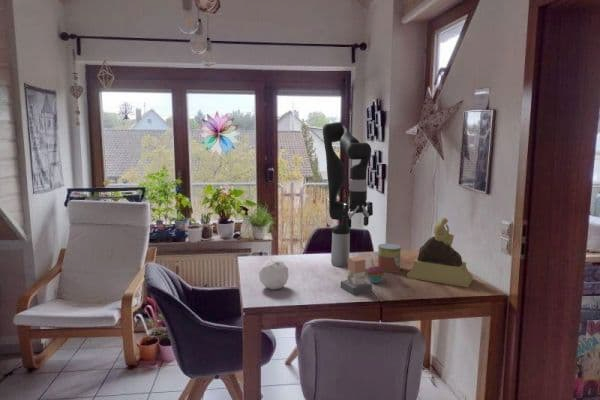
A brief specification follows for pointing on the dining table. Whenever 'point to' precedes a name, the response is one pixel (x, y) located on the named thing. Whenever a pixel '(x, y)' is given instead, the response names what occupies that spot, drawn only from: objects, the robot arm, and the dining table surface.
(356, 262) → the terracotta cube
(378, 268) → the cupcake
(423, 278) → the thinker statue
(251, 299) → the dining table surface
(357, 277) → the cream cube
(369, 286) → the plinth
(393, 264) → the canned food
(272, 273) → the geodesic sphere
